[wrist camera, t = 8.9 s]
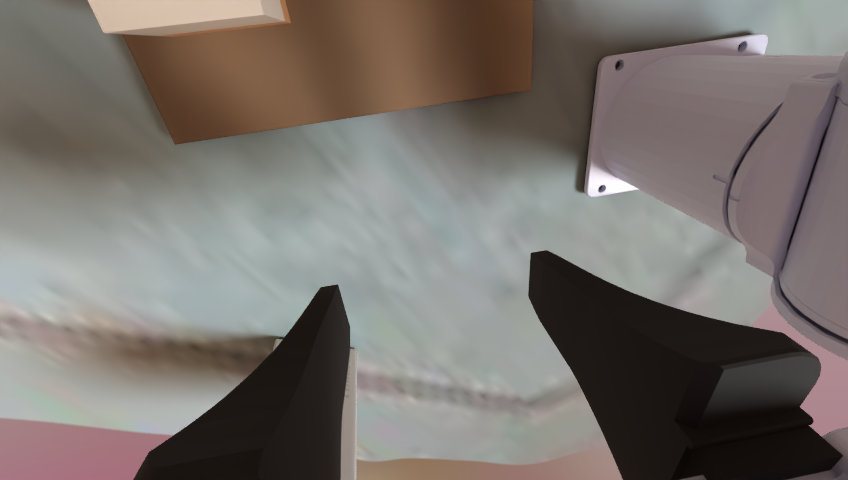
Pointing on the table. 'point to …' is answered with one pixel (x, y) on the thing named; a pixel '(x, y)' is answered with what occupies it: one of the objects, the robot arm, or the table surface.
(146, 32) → the sleeve
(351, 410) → the skincare box
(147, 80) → the pin board
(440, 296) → the table surface
